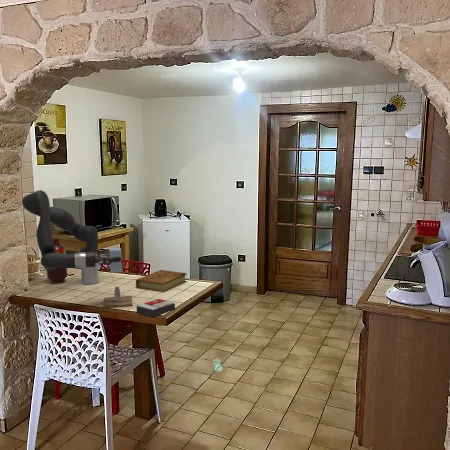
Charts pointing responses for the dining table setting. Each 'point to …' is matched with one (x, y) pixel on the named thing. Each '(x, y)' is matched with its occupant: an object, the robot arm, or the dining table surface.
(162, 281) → the diary
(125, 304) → the post stand
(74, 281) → the dining table surface
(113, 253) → the blue-grey rectangular block
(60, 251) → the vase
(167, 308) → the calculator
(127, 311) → the dining table surface
